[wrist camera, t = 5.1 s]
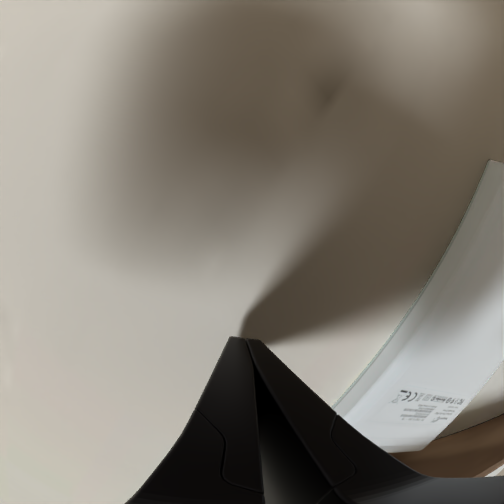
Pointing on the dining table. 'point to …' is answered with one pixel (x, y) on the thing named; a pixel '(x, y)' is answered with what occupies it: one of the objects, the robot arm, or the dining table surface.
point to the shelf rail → (460, 453)
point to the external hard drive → (440, 336)
